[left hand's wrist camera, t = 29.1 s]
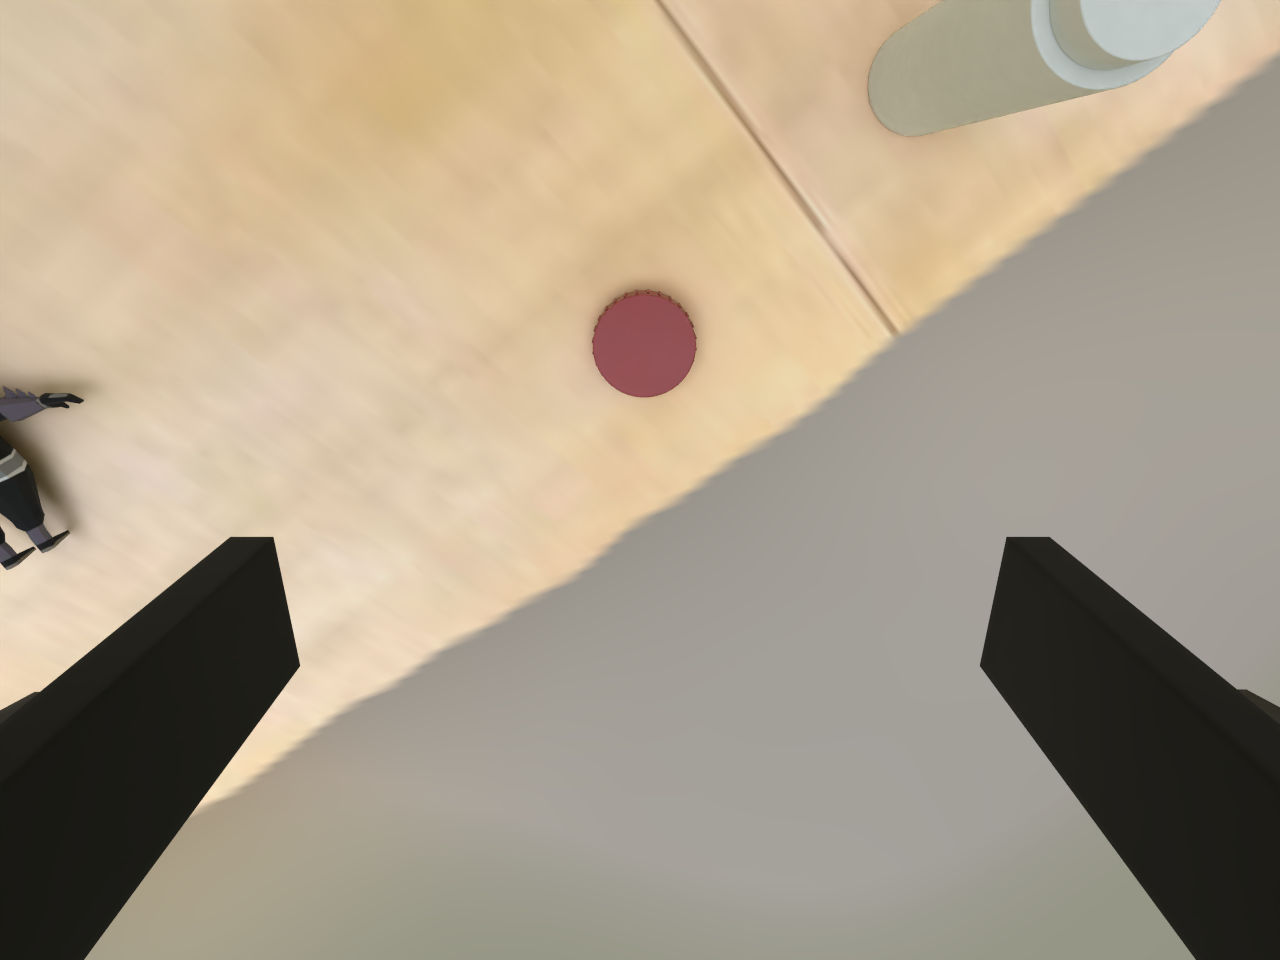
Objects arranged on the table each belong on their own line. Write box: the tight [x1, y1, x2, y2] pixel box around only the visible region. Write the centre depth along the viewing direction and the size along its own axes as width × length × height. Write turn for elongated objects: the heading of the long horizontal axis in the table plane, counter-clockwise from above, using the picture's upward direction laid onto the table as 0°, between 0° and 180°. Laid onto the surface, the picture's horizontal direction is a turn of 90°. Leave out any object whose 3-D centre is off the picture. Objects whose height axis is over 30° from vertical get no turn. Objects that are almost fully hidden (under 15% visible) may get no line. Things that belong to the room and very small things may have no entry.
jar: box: [868, 0, 1221, 136], centre depth 26 cm, size 5×5×17 cm
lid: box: [592, 289, 696, 397], centre depth 38 cm, size 6×6×2 cm
